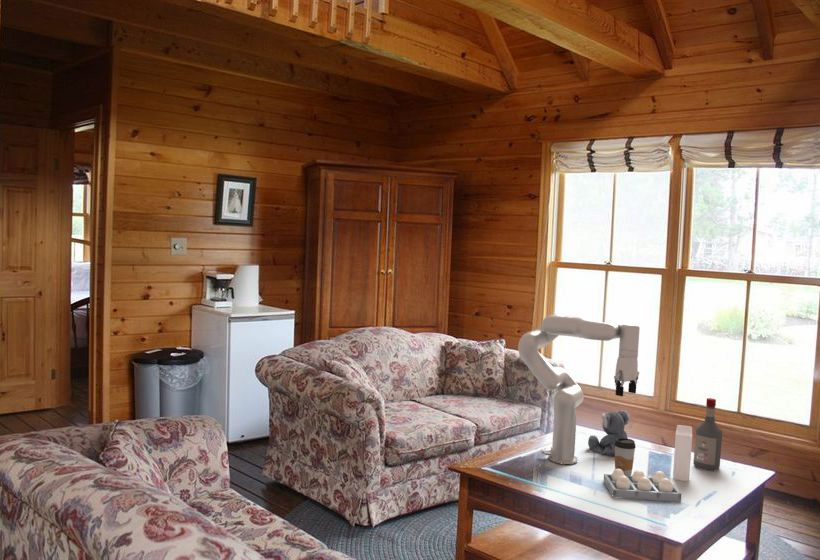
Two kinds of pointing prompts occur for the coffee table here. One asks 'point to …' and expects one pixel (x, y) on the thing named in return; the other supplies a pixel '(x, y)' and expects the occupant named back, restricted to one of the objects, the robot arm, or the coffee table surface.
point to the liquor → (708, 441)
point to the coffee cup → (624, 455)
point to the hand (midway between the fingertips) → (625, 394)
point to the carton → (639, 486)
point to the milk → (682, 453)
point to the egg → (665, 485)
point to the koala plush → (610, 432)
